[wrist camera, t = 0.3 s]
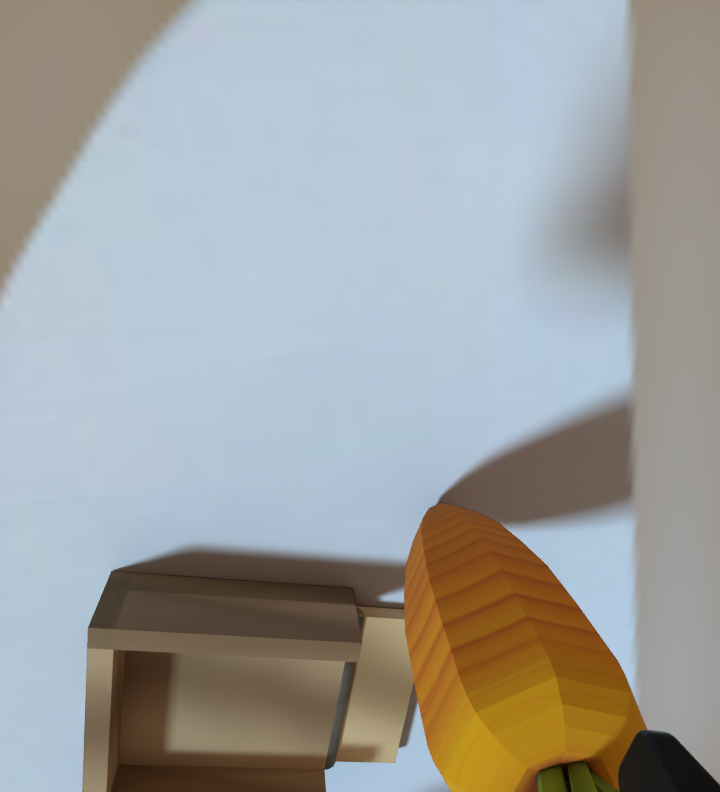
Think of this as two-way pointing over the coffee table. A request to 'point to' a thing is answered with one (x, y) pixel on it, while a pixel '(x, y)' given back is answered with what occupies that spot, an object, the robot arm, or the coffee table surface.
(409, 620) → the carrot
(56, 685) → the coffee table surface
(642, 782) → the robot arm
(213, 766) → the wooden tray
